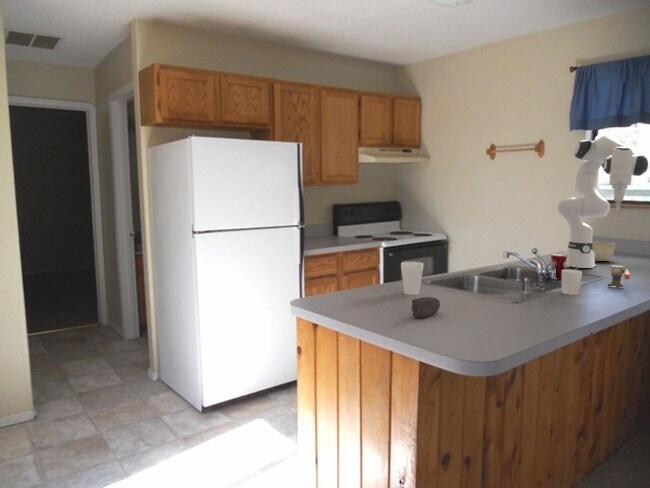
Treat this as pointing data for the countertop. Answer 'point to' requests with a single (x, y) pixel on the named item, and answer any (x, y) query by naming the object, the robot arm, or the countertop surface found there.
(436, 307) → the perforated stone tool
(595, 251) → the planter bowl
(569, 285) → the white cup
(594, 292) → the countertop surface
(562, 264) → the soda can
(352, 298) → the countertop surface
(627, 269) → the lever
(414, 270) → the foam cup
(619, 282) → the valve stand
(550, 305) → the countertop surface
